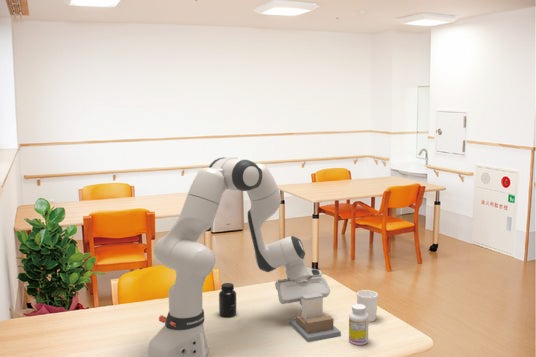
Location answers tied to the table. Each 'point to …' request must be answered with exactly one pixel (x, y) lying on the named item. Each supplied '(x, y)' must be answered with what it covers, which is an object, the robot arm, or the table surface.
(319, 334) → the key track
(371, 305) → the white cup
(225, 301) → the supplement bottle
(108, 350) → the table surface
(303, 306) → the push key
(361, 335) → the supplement bottle
